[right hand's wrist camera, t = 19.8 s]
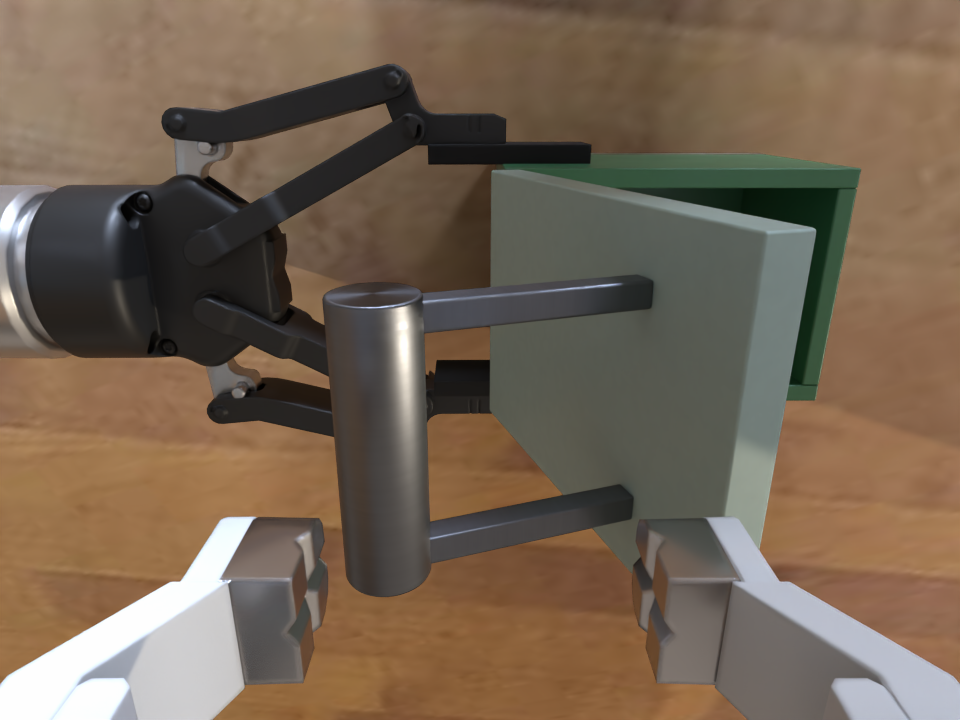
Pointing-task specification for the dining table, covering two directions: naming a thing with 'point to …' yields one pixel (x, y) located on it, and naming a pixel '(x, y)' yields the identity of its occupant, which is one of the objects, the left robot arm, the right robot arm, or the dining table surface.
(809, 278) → the chest
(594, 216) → the lid
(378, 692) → the dining table surface
